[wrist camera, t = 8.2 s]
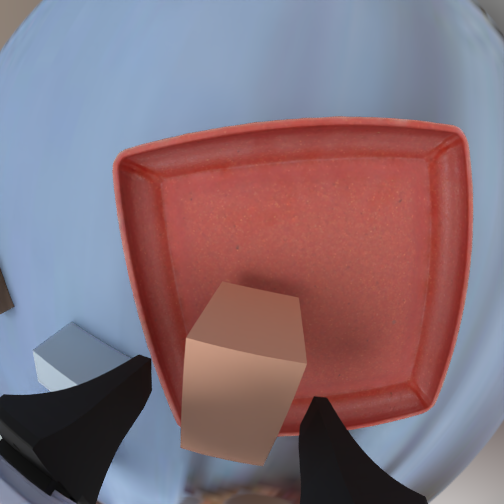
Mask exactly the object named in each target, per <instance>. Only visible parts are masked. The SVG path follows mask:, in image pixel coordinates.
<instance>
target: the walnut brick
mask: <svg viewBox="0 0 504 504" xmlns="http://www.w3.org/2000/svg"><path fill="white" fill-rule="evenodd" d="M13 307H14V305H13V302H12V300H11V297H10V294H9V292H8V289H7V286H6V284H5V281H4V278H3V275H2V272H1V269H0V314H2V313H3V312H5V311H7V310H9V309H11V308H13Z"/></svg>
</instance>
